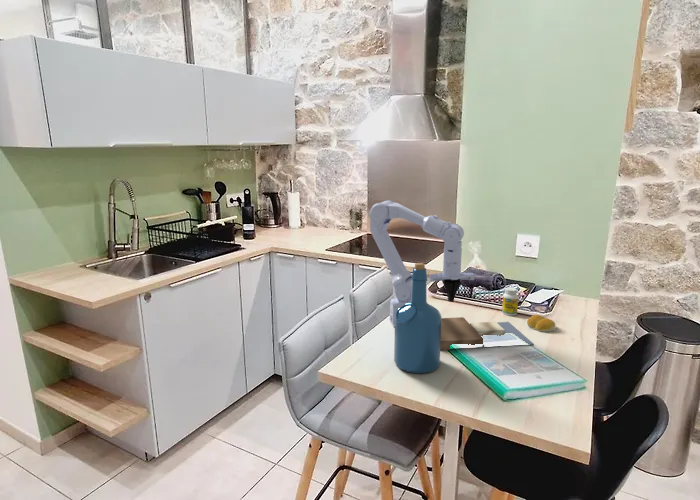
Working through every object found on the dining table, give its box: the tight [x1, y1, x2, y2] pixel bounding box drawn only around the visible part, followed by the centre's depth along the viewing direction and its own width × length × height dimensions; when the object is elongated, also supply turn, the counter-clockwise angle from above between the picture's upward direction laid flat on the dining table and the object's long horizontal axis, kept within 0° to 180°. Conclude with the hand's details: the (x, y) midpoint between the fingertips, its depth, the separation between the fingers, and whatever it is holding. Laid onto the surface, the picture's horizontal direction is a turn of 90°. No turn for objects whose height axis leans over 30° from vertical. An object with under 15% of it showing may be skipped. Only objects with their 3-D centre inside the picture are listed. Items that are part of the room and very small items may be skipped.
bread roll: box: [526, 314, 556, 333], centre depth 154 cm, size 8×9×4 cm
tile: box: [469, 321, 505, 336], centre depth 148 cm, size 9×7×2 cm
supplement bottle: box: [501, 287, 519, 317], centre depth 166 cm, size 5×5×10 cm
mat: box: [496, 321, 535, 346], centre depth 149 cm, size 16×18×1 cm
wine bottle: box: [393, 262, 443, 374], centre depth 126 cm, size 14×13×30 cm
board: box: [440, 316, 483, 351], centre depth 147 cm, size 14×18×3 cm
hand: (450, 300), depth 151 cm, fingers closed
